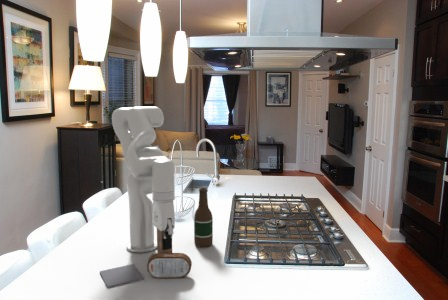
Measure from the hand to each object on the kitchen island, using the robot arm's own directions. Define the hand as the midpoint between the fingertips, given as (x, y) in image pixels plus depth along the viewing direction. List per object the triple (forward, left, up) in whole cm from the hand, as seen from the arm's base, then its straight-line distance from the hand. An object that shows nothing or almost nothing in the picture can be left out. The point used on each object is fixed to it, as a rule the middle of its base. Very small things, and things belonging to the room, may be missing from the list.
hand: (164, 246), depth 127 cm
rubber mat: (-5, -14, -9) cm, 17 cm away
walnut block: (0, 0, -3) cm, 3 cm away
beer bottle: (-16, +23, -10) cm, 29 cm away
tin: (+4, 0, -10) cm, 11 cm away
